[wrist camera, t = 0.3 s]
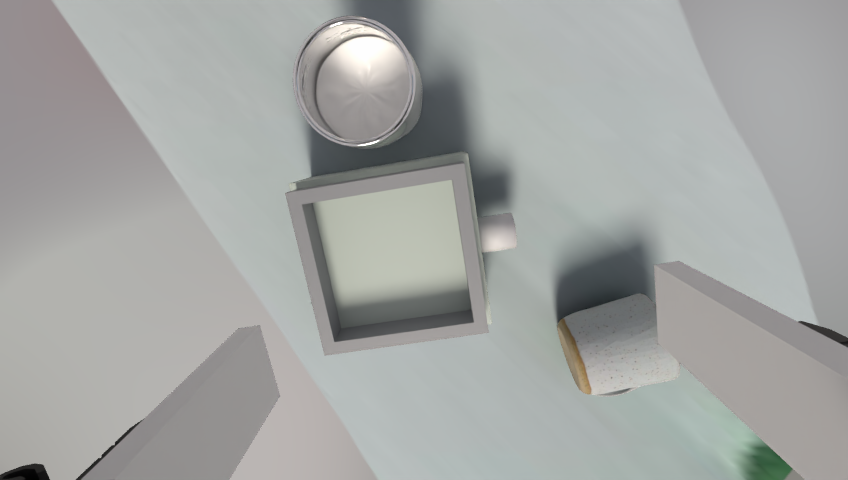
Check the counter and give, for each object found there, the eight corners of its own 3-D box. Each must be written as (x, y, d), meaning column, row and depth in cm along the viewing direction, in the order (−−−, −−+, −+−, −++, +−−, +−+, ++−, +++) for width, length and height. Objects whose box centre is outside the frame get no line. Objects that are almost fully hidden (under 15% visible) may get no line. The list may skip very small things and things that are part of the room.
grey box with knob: (311, 177, 38) (276, 187, 30) (496, 145, 37) (513, 147, 29) (343, 317, 42) (319, 362, 33) (515, 292, 40) (535, 332, 32)
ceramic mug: (546, 306, 41) (570, 346, 33) (629, 280, 40) (674, 314, 32) (574, 397, 43) (603, 452, 36) (654, 374, 42) (701, 426, 35)
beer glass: (331, 94, 37) (261, 65, 22) (396, 45, 36) (367, -20, 21) (378, 161, 38) (341, 175, 23) (442, 115, 37) (445, 100, 22)
